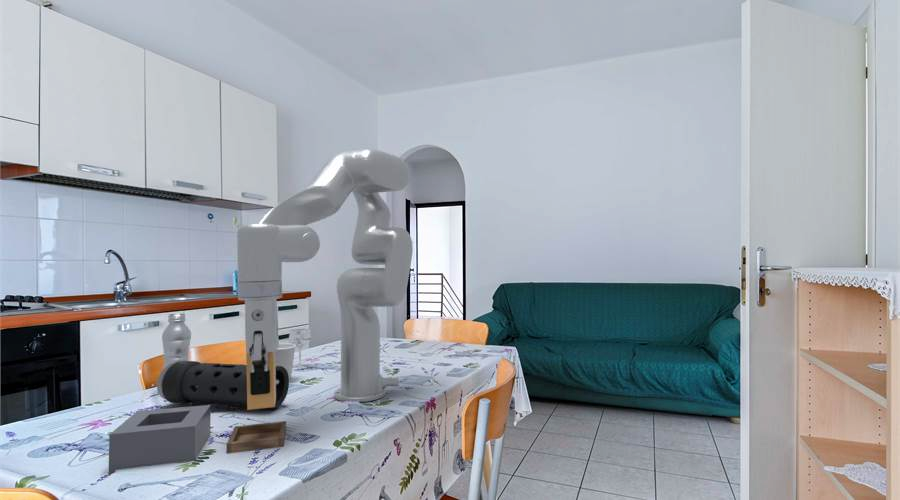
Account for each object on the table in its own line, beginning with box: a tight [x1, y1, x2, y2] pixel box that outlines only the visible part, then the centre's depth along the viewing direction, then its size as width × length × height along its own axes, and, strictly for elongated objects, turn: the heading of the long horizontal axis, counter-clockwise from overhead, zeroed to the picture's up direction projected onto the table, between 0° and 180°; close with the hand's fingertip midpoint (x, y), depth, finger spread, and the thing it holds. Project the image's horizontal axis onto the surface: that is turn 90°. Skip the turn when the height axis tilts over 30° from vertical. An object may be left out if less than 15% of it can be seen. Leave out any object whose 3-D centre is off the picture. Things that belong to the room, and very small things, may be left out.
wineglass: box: [288, 328, 312, 368], centre depth 144 cm, size 7×7×12 cm
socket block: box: [108, 405, 212, 474], centre depth 78 cm, size 12×12×6 cm
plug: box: [245, 339, 276, 411], centre depth 84 cm, size 4×4×12 cm
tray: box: [225, 420, 287, 454], centre depth 83 cm, size 9×9×2 cm
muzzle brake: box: [156, 360, 290, 411], centre depth 104 cm, size 10×28×10 cm, turn 78°
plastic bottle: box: [161, 313, 192, 370], centre depth 117 cm, size 6×7×20 cm
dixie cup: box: [275, 342, 297, 384], centre depth 127 cm, size 8×8×10 cm
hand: (261, 388), depth 84 cm, fingers closed on plug, 4 cm apart
